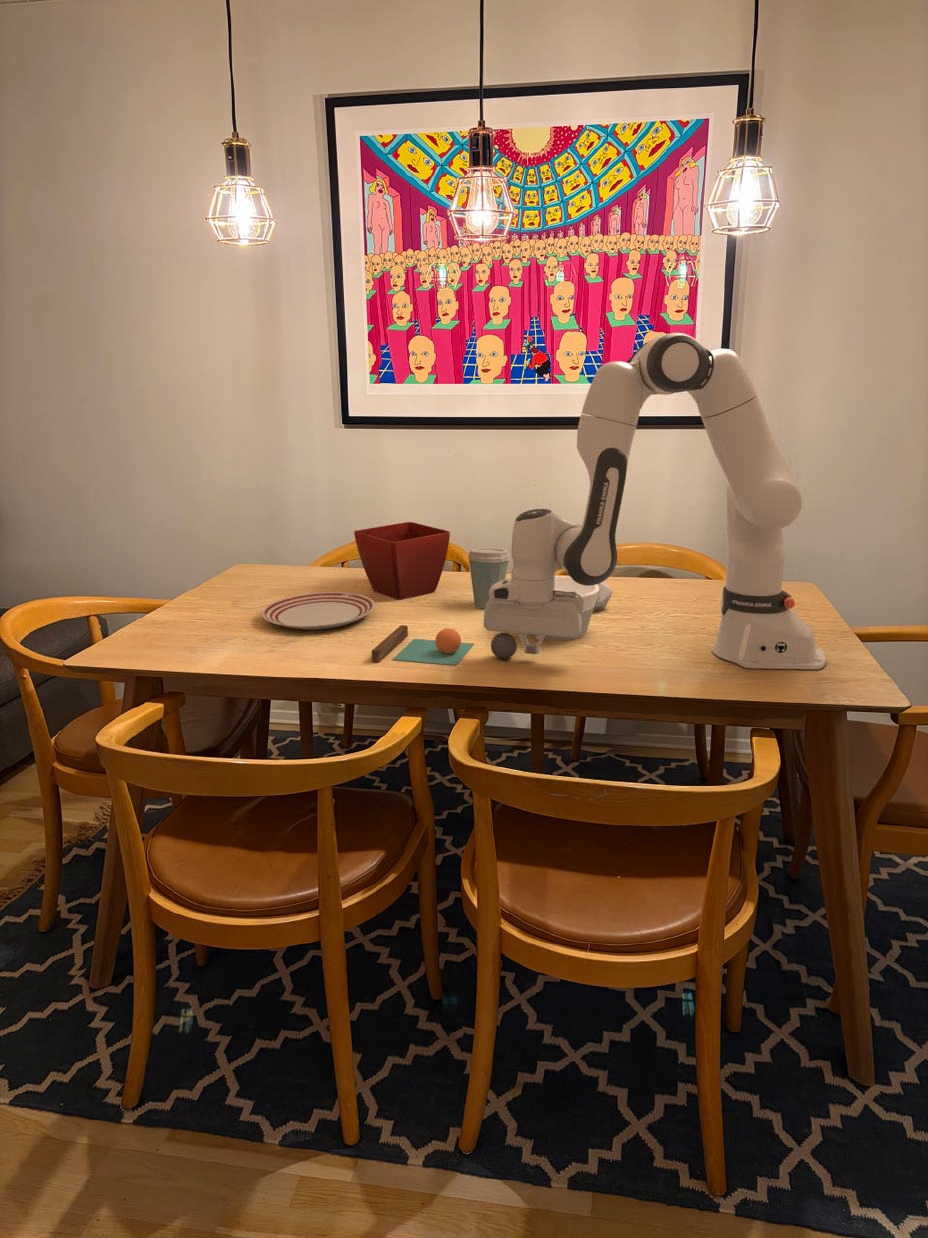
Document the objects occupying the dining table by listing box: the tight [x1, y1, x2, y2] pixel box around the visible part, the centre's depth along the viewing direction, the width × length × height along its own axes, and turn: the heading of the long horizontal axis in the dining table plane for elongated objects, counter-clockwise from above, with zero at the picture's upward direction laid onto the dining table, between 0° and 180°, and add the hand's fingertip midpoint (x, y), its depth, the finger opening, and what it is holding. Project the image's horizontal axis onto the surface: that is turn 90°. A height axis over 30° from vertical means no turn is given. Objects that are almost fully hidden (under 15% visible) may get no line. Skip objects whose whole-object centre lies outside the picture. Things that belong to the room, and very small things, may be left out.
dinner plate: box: [261, 591, 376, 631], centre depth 206 cm, size 27×27×3 cm
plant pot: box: [353, 521, 451, 600], centre depth 227 cm, size 19×19×17 cm
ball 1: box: [435, 627, 462, 654], centre depth 180 cm, size 6×6×6 cm
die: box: [593, 580, 614, 611], centre depth 211 cm, size 8×9×10 cm
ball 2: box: [490, 632, 518, 660], centre depth 177 cm, size 6×6×6 cm
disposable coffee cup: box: [467, 547, 511, 610], centre depth 213 cm, size 11×11×15 cm
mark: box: [392, 638, 474, 667], centre depth 182 cm, size 14×14×1 cm
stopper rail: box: [371, 624, 409, 663], centre depth 184 cm, size 2×18×2 cm, turn 165°
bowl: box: [528, 575, 599, 641], centre depth 194 cm, size 19×19×11 cm
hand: (531, 653), depth 176 cm, fingers closed
